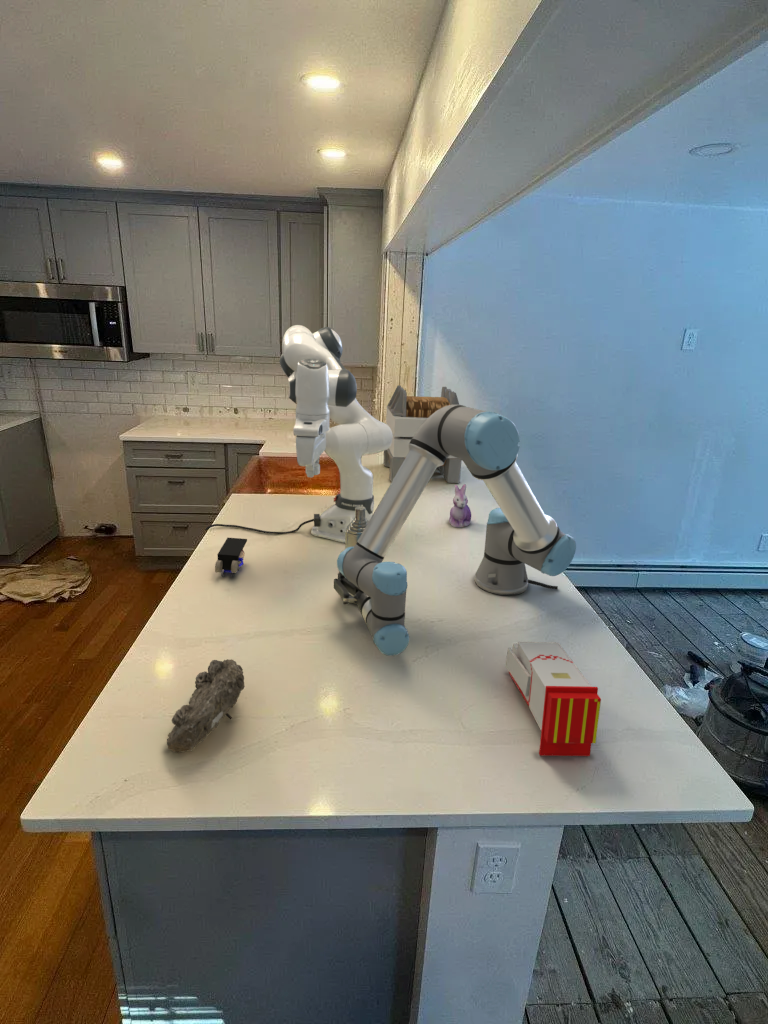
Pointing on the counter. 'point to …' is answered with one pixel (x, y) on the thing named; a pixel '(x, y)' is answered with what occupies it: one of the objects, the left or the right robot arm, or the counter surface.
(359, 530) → the silver ridged cylinder
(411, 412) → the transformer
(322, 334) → the left robot arm
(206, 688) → the fossil
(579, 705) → the toy
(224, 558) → the figurine character
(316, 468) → the cap
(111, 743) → the counter surface
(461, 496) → the figurine
